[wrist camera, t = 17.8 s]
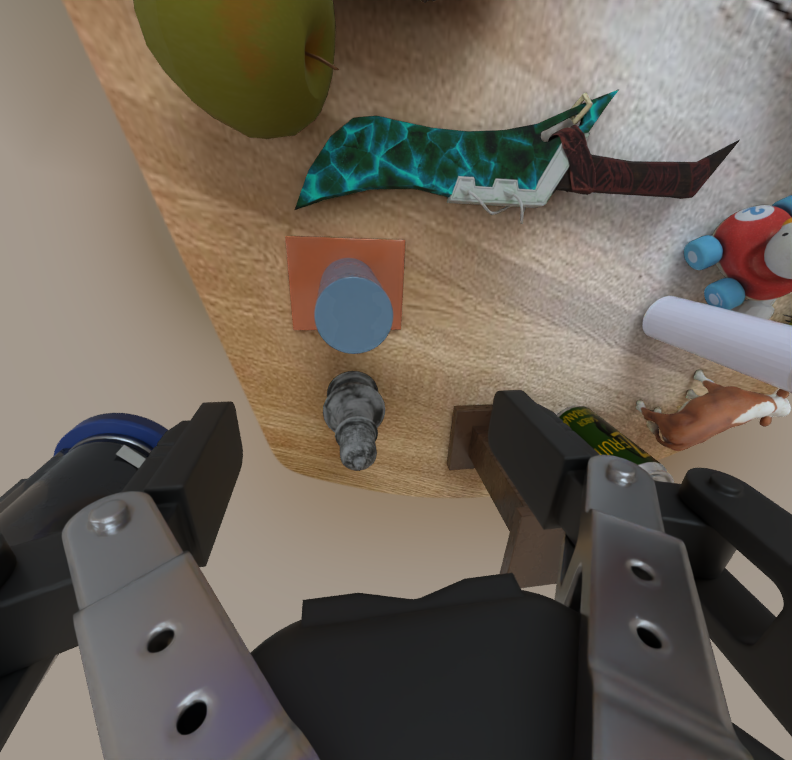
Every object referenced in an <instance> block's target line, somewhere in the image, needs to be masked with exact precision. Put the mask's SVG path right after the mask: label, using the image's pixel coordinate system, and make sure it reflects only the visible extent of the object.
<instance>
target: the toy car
mask: <svg viewBox="0 0 792 760" xmlns="http://www.w3.org/2000/svg"><path fill="white" fill-rule="evenodd" d="M684 257H685V260H686V262H687V263H688V265H689V266H690V267H692V268H693V269H696V270H703V269H706V268H708V267H710V266H712V265H715V264H716V265H717V266H718V268H719V270H720V272H721V273H722V275H723V276H724V277H725V278H723V279H720V280H718V281H716V282H714V283H711V284H709V285H708V286H707V287H706V288H705V291H704V297H705V300H706V302H707V303H708V305H712V306H716V307H720V308H724V309H728V310H730V309H733V308H735V307H737V306H739V305H741V304H742V303H743V302H744V300H745V298H747V299H750V300H756V301H764V300H770V299H775V298H778V297H781V296H784V295H786V294H788V293H790V292H792V195H790V196H788V197H786V198H784V199H781V200H779V201H777V202H775V203H774V204H773V205H772V206H769V205H759V206H753V207H749V208H745V209H743V210H740V211H738V212H736V213H734V214H733V215H731V216H730V217H728V218H727V219H726V220H724V221H723V222H722V223H721V224H720V225H719V226H718V227H717V228H716V230H715V231H714V233H713V235H712V236H709V235H706V236H702V237H700V238H697V239H695V240H693V241H691V242H689V243H688V244H687V245H686V246H685V249H684Z"/></svg>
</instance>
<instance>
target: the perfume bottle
mask: <svg viewBox="0 0 792 760" xmlns="http://www.w3.org/2000/svg"><path fill="white" fill-rule="evenodd" d="M778 314H779V313H778ZM785 316H788V315H785ZM789 317H792V316H789ZM785 321H787V322H791V321H788V320H785ZM791 323H792V322H791ZM642 325H643V330H644V332H645V334H646V335H647V336H649V337H652V338H654V339H657V340H659V341H662V342H664V343H667V344H669V345H672V346H674V347H677V348H679V349H682V350H684V351H687V352H689V353H692V354H694V355H697V356H699V357H702V358H704V359H707V360H710V361H712V362H715V363H717V364H720V365H722V366H725V367H727V368H730V369H732V370H735V371H737V372H740V373H742V374H745V375H747V376H750V377H752V378H755V379H757V380H760V381H762V382H765V383H767V384H770V385H773V386H775V387H778V388H780V389H783V390H785V391H788V392H790V393H792V325H789V324H785V323H780V322H776V321H772V320H768V319H764V318H760V317H756V316H752V315H748V314H744V313H740V312H736V311H732V310H728V309H724V308H720V307H716V306H712V305H708V304H704V303H700V302H696V301H692V300H688V299H684V298H680V297H676V296H665V297H662V298H660V299H658V300H657V301H655V302H654V303H653V304H652V305H651V306H650V307H649V309H648V310H647V312H646V314H645V316H644V319H643V324H642Z"/></svg>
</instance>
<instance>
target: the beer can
mask: <svg viewBox="0 0 792 760" xmlns="http://www.w3.org/2000/svg"><path fill="white" fill-rule="evenodd" d="M557 416H558V417H559V418H560V419H561V420H562V421H563V423H566V424H567V425H568V426H569V427H570V428H571V429H572V431H575V432H576V433H577V434H578V435H579V436H580V437H581V438H582V439H583V440H584V441H586V442H587V443H588V444H589V445H590V446H591V447H592V448H593V449H594V450H595V451H597V452H598V453H599V454H600V455H611V456H616V457H620V458H623V459H626V460H629V461H631V462H633V463H635V464H637V465H638V466H640V467H642V468H643V469H644V470H646V471H647V472H648V473H649V474H650V475H651V476H652V478H653V480H655V481H662V482H669V483H674V480H673V477H672V476H671V475H670V474H669V473H668V472H667V470H666V468H665V467H664V466H663V465H662V464H661V463H659V462H658V461H657V460H655V459H654V458H653V457H652V456H650V455H649V454H648V453H646V452H645V451H644V450H642V449H641V448H640V447H639V446H637V445H636V444H635V443H633V442H632V441H631V440H630V439H628V438H627V437H626V436H624V435H623V434H622V433H620V432H619V431H618V430H617V429H615V428H614V427H613V426H611V425H610V424H609V423H607V422H606V421H605V420H604V419H602V418H601V417H600V416H598V415H597V414H596V413H595V412H593V411H592V410H591V409H589V408H587V407H584V406H570V407H567V408H565V409H564V410H562V411H561V412H560V413H559V414H557Z"/></svg>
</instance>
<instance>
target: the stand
mask: <svg viewBox="0 0 792 760" xmlns="http://www.w3.org/2000/svg"><path fill="white" fill-rule="evenodd" d="M492 407H493V405H471V406H454V411H453V419H452V427H451V435H450V443H449V451H448V459H447V465H448V468H449V470H459V469H473V468H475V469H476V471H477V472H478V474H479V476H480V478H481V480H482V482H483V483H484V485H485V487H486V489H487V491H488V493H489V494H490V496H491V498H492V500H493V502H494V503H495V505H496V507H497V509H498V511H499V513H500V514H501V516H502V518H503V520H504V522H505V524H506V526H507V527H508V529H509V531H510V534H509V538H508V542H507V546H506V550H505V554H504V558H503V563H502V566H501V571H500V574H505V573H513V574H514V576H515V578H516V580H517V582H518V584H519V586H520V588H526V587H533V586H541V585H549V584H557V577H558V569H559V561H560V553H561V545H562V540H563V537H564V534H565V532H564V530H563V529H562V528H556V529H547V530H544V529H543V528H542V526H541V525H540V523H539V522H538V520H537V519H536V517H535V516H534V514H533V513H532V511H531V510H530V508H529V507H528V505H527V504H526V502H525V501H524V499H523V498H522V496H521V495H520V493H519V492H518V490H517V489H516V487H515V486H514V484H513V483H512V481H511V480H510V478H509V477H508V475H507V474H506V472H505V471H504V469H503V468H502V466H501V465H500V463H499V462H498V460H497V459H496V457H495V456H494V454H493V453H492V451H491V449H490V446H489V442H488V429H489V424H490V418H491V412H492Z"/></svg>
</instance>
